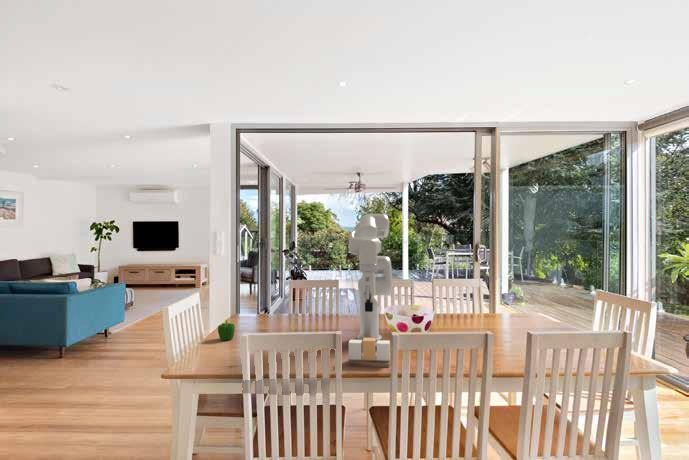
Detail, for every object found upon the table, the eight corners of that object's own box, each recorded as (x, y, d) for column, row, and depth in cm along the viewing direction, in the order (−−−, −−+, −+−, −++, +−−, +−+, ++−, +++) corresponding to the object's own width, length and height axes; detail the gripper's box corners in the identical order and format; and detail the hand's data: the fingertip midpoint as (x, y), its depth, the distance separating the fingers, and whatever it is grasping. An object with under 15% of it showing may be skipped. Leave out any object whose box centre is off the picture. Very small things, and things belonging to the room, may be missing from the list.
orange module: (375, 356, 181) (375, 337, 181) (374, 360, 176) (374, 341, 176) (363, 356, 181) (363, 337, 181) (362, 359, 176) (362, 340, 176)
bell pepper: (230, 342, 213) (230, 322, 213) (215, 341, 214) (215, 321, 214) (237, 337, 221) (237, 318, 221) (223, 337, 223) (223, 318, 223)
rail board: (351, 358, 185) (350, 337, 185) (390, 359, 182) (389, 338, 182) (348, 365, 175) (347, 344, 175) (389, 367, 172) (389, 345, 172)
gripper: (376, 270, 170) (376, 315, 171) (378, 266, 185) (378, 307, 186) (357, 270, 171) (358, 315, 172) (361, 265, 186) (361, 307, 187)
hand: (368, 311), depth 179 cm, fingers closed
